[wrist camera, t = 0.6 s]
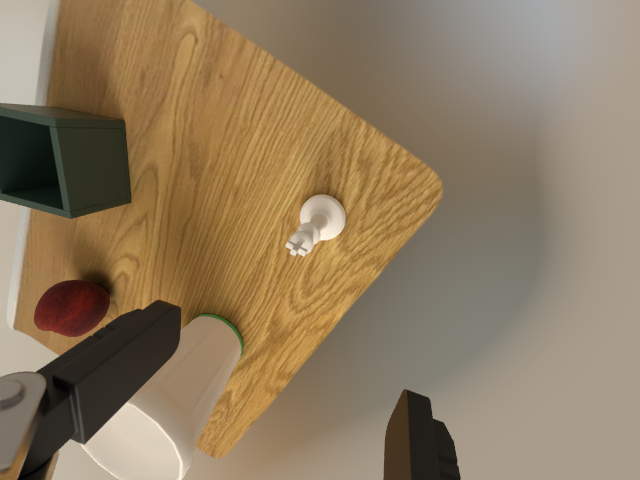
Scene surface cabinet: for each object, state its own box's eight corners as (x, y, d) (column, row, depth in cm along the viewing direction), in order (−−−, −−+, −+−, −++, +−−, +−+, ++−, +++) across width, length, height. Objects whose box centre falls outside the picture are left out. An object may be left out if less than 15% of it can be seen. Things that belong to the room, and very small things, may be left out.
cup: (220, 387, 44) (140, 503, 30) (161, 328, 43) (49, 422, 29) (275, 351, 40) (209, 471, 26) (210, 283, 38) (103, 371, 24)
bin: (54, 106, 35) (-29, 100, 28) (124, 120, 33) (54, 118, 26) (68, 186, 38) (-4, 199, 31) (131, 202, 37) (71, 219, 30)
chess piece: (334, 246, 32) (309, 291, 23) (294, 226, 33) (255, 263, 24) (353, 207, 30) (335, 240, 21) (311, 186, 31) (275, 209, 22)
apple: (76, 297, 45) (14, 329, 38) (82, 258, 42) (16, 285, 35) (116, 322, 45) (62, 359, 38) (126, 285, 42) (69, 317, 35)
